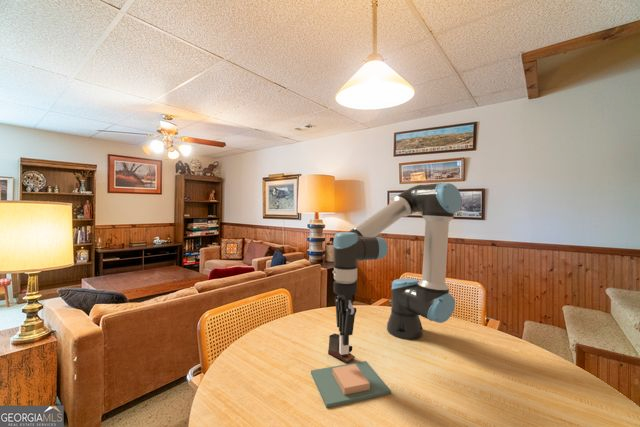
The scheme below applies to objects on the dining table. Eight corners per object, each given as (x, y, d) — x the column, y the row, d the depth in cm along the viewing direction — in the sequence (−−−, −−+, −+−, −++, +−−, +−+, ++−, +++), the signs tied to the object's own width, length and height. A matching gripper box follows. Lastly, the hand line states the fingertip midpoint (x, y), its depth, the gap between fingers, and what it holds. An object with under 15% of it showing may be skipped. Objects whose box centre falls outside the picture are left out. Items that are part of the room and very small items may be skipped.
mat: (366, 363, 95) (366, 360, 95) (390, 393, 80) (391, 390, 80) (310, 373, 89) (310, 370, 89) (326, 407, 74) (326, 404, 74)
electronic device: (347, 364, 94) (347, 343, 94) (327, 354, 101) (327, 334, 101) (355, 359, 97) (355, 339, 97) (335, 350, 104) (335, 330, 104)
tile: (355, 364, 89) (369, 383, 80) (355, 370, 89) (369, 390, 80) (332, 368, 87) (344, 388, 77) (332, 374, 87) (344, 395, 77)
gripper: (327, 276, 92) (326, 344, 93) (341, 287, 80) (340, 366, 80) (348, 274, 95) (347, 341, 95) (364, 285, 82) (363, 362, 83)
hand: (344, 353), depth 88 cm, fingers closed
